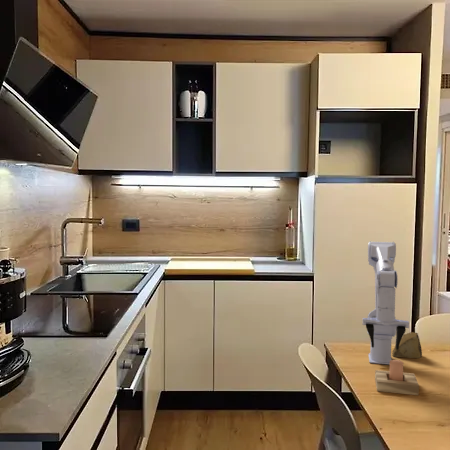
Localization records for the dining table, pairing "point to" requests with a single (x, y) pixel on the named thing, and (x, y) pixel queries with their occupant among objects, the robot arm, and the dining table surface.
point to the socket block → (396, 383)
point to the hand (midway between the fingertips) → (384, 347)
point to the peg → (396, 370)
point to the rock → (409, 346)
